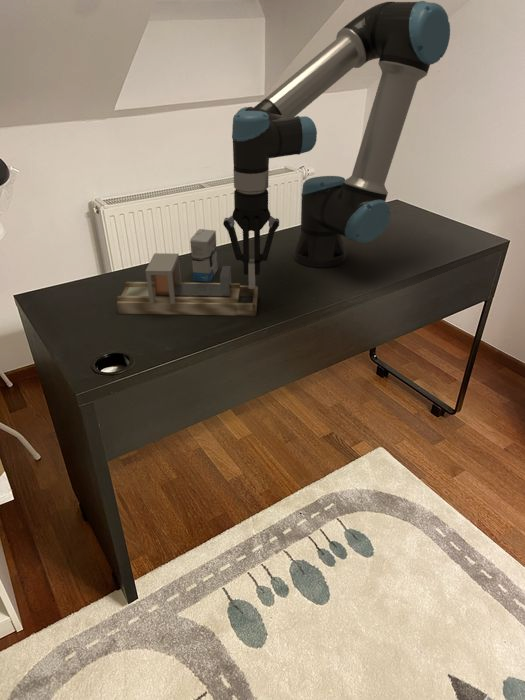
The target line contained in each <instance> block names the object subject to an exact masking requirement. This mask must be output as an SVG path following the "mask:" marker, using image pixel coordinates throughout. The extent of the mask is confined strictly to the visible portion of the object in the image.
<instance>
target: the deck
mask: <svg viewBox="0 0 525 700" xmlns="http://www.w3.org/2000/svg"><path fill="white" fill-rule="evenodd" d="M124 284H125V287H124V289H123V291H122V293H121V295H117V297H116V299H117V302H116V305H117V312H118V314H123V315H124V314H125V315H126V314H130V315H140V314H141V315H179V316H180V315H186V316H188V315H190V316H197V315H198V316H245V317H247V316H248V317H249V316H250V317H251V316H252V317H253V316H254V317H255V316H257V311H258V310H257V308H258V300H259V286H258V285H255V289H249V285H241V283H239V282H238V283H237V282H236V283H235V282H231V284H232V289H231V294H230V298H226V297H175V304H171V303H170V297H161V296H155V294H156V293H155V286H154V281H152V285H153V293H154V300H155V302H154V303H150V300H149V293H148V286H147V281H125V283H124ZM175 284H220V282H181V283H178V282H175Z"/></svg>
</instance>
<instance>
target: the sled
mask: <svg viewBox="0 0 525 700" xmlns="http://www.w3.org/2000/svg"><path fill="white" fill-rule="evenodd" d="M219 275H220V276H219V281H220V282H219V283H220V284H175V274H174V270H173V273H172V277H173V286H174V295H175V297H226V298H230V294H231V289H232V284H231V283H232V267H231V265H222V268H221V271H220V274H219ZM152 276H153V277H152V279H153V282H154V286H155V293H156V294H155V296H161V297H170V294H169V286H168V277H167V275H152Z"/></svg>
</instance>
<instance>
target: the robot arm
mask: <svg viewBox="0 0 525 700" xmlns="http://www.w3.org/2000/svg"><path fill="white" fill-rule="evenodd" d="M450 24H451V23H450V21H449V15H448V14H447V12H446V10H445V8H444V7H443V6H442V5H441V4H439V3H436V2H429V1H428V2H427V1H425V0H421V1H420V0H419V1H385V2H381V3H378V4H375V5H374V6H372V7H370V8H368V9H366V10H365V11H364V12H362V13H360V14H359V15H358V16H356V17H355V18H353V19H352V20H351V21H350V22H348V23H346V25H345V26H343V27H342V28H341V29H340V30H339V31H338V32H337V34H336V37H335V39H334V41H333V42H331V43H330V44H329V45H327V46H326V47H325V48H324V49H323V50H322V51H320V52H319V53H318V54H317V55H315V56H314V57H313V58H312V59H311V60H309V61H308V62H307V63H306V64H304V66H302V67H301V68H300V69H298V71H296V72H295V73H294V74H293V75H291V76H290V77H289V78H288V79H287V80H285V81H284V82H283V83H282V84H281V85H279V86H278V87H277V88H275V90H273V91H272V92H271V93H270V94H269V95H268V96H266V97H265V98H264V99H262V100H261V101H260V102H259V103H258V104H257V105H255V106H254V107H253V106H248V107H247V106H245V107H242V108H240V109H239V110H238V111H237V112H236V113H235V114H234V116H233V118H232V132H231V138H232V157H233V169H232V170H233V188H234V189H235V190H234V191H233V195H234V197H233V199H234V200H233V201H234V203H233V204H234V209H233V211H232V215H230V216H229V217H225V218H224V219H223V222H222V223H223V224H222V225H223V227H224V228H225V230H226V231H227V233H228V236H229V239H230V244H231V246H232V247H231V248H232V249H233V254H234V257H235V260H236V261H240V262H242V263H243V274H244V275H246V276H248V286H249V289H255V286H256V276H259V275H260V273H261V263H262V262H266V261H267V260H268V257H269V255H270V254H269V253H270V252H271V251H270V250H271V248H272V242H273V239H274V235H275V232H276V231H277V229H278V228H279V226H280V219H279V218H277V217H276V218H275V217H274V216H273V215H271V212H270V210H269V190H268V188H269V166H270V165H269V164H270V159H274V158H281V157H289V156H294V155H301V154H304V153H307V152H308V153H309V152H311V151H312V150H313V149H314V147H315V146H316V143H317V139H318V138H317V134H318V131H317V126H316V124H315V122H314V121H313V119H312V118H310V117H309V116H307V115H306V116H305V115H304V116H299V114H300V113H301V112H302V111H303V110H304V109H306V108H307V107H308V106H309V105H310V104H312V103H313V102H314V101H315V100H316V99H318V98H319V97H320V96H321V95H322V94H323V93H325V92H326V91H328V90H329V89H330V88H331V87H332V86H333V85H334V84H336V83H337V82H339V80H340V79H342V78H343V77H344V76H345V75H346V74H348V73H349V72H350V71H351V70H353V69H359V68H362V67H363V66H364V65H365V64H367V63H368V62H370V61H372V60H378V59H379V60H378V66H379V68H380V70H381V75H380V79H379V83H378V86H377V89H376V93H375V97H374V100H373V103H372V106H371V109H370V113H369V116H368V120H367V122H366V126H365V129H364V132H363V137H362V140H361V144H360V147H359V149H358V153H357V156H356V160H355V163H354V167H353V169H352V173H351V176H349V177H348V178H346V179H345V177H342V176H338V175H321V176H314V177H310V178H308V179H306V180H305V181H304V182H303V184H302V190H301V191H302V192H301V207H300V208H301V210H300V211H301V212H300V213H301V214H300V232H299V235H298V237H297V240H296V243H295V246H294V248H293V258H294V260H295V261H296V262H297V263H299V264H301V265H302V266H307V267H311V268H320V269H321V268H331V267H336V266H339V265H341V264H343V263H344V262H345V260H346V248H345V242H344V238H343V237H345V238H346V239H347V240H349V241H354V242H357V243H361V244H365V243H366V244H367V243H370V242H372V241H374V240H376V239H377V238H378V237H380V236H381V235H382V234H383V232H384V231H385V230H386V228H387V226H388V224H389V221H390V219H391V211H390V210H391V208H390V205H389V204H388V203H387V202H386V200H387V197H388V193H389V192H388V190H387V188H386V186H385V184H386V181H387V177H388V175H389V171H390V169H391V165H392V162H393V159H394V156H395V153H396V149H397V147H398V144H399V141H400V137H401V135H402V131H403V128H404V125H405V122H406V119H407V116H408V113H409V110H410V107H411V104H412V100H413V98H414V95H415V91H416V88H417V85H418V83H419V81H421V80H422V79H423V78H425V77H426V76H428V73H429V69H430V66H431V65H434V64H436V63H438V62H439V61H440V60H441V58H443V57H444V56H445V54H446V52H447V50H448V46H449V42H450V37H451V25H450ZM235 222H236V224H237V225H238V227H239V228H240V229H241V230H242V242H243V243H242V247H243V248H242V249H241V246H240V244H239V240H238V236H237V232H236V228H235V225H236V224H235ZM267 223H268V227H269V229H268V233H267V236H266V239H265V243H264V248H263V250H262V253H261V230H262V229H263V227H264V226H265V225H267ZM251 231H252V232H253V236H254V239H253V240H254V243H253V244H254V245H253V247H254V256H253V257H254V258H250V232H251ZM241 250H242V251H243V252H242V251H241Z"/></svg>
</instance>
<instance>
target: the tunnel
mask: <svg viewBox="0 0 525 700" xmlns="http://www.w3.org/2000/svg"><path fill="white" fill-rule="evenodd" d="M173 270H174V274H175V282H178V283H182V275H181V264H180V254H179V253H164V252H163V253H161V252H160V253H154V254H153V256H152V257H151V259H150V261H149V263H148V265H147V267H146V269H145V270H144V271H145V278H146V282H147V286H148V293H149V300H150V303H154V302H155V300H154V293H153V285H152V282H153V281H152V280H153V277H152V276H153V275H167V277H168V286H169V294H170V303H171V304H175V295H174V286H173V277H172V273H173Z"/></svg>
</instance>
